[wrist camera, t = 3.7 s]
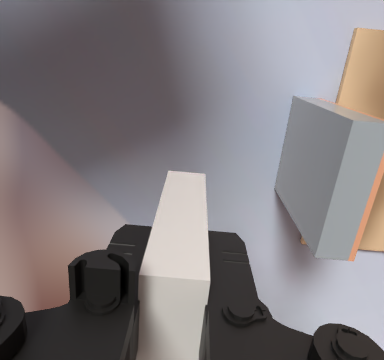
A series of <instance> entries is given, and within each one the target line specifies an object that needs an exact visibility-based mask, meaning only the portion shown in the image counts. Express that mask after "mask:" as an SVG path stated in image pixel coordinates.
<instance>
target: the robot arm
mask: <svg viewBox="0 0 384 360" xmlns="http://www.w3.org/2000/svg"><path fill="white" fill-rule="evenodd" d="M68 272H69V288H70V300H69V302H68V304H65V305H62V306H60V307H56V308H51V309H46V310H40V311H34V312H27V313H25V311H24V308H23V306H22V304H21V302H19V301H18V300H16V299H14V298H12V297H5V296H0V360H384V351H383V350H382V349H381V348H380V347H379V346H378V345H377V344H376V343H375V342H374V341H373V340H372V339H371V338H369V337H368V336H367V335H365V334H363V333H361V332H360V331H358V330H356V329H355V328H352V327H348V326H345V325H342V324H331V323H328V324H325V325H323V326H320V327H319V328H318V329H317V330H316V332H315V333H314V335H313V336H311V335H308V334H306V333H303V332H300V331H297V330H294V329H291V328H289V327H287V326H284V325H282V324H280V323H279V322H277V321H276V320H274V319H273V318H272V315H271V314H270V312H269V310H268V308H267V307H266V306H265V305H264V304H263V303H262V302H261V301H260V300H259V299H258V295H257V291H256V287H255V283H254V279H253V275H252V271H251V267H250V264H249V259H248V255H247V251H246V247H245V243H244V242H243V240H242V239H241V238H240V237H239V236H238V235H237V234H236V233H228V232H217V231H208V221H207V201H206V180H205V174H201V173H190V172H179V171H168V174H167V177H166V181H165V184H164V188H163V191H162V195H161V198H160V202H159V205H158V209H157V212H156V216H155V219H154V223H153V226H152V227H149V226H138V225H127V224H125V225H124V226H123V227H121V228H120V229H119V230H117V231H116V232H115V233H114V235H113V237H112V239H111V241H110V244H109V245H108V248H107V249H106V250H96V251H92V252H87V253H85V254H83V255H81V256H79V257H77V258H75V259H74V260H73V261H72V262H71V263H70V264H69V265H68Z"/></svg>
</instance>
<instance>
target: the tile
mask: <svg viewBox="0 0 384 360" xmlns="http://www.w3.org/2000/svg"><path fill="white" fill-rule="evenodd" d="M383 173H384V119H381V118H378V117H375V116H372V115H369V114H366V113H363V112H360V111H357V110H354V109H351V108H348V107H345V106H342V105H339V104H336V103H333V102H330V101H327V100H324V99H321V98H310V97H300V96H293V100H292V105H291V109H290V114H289V119H288V124H287V129H286V134H285V139H284V144H283V149H282V154H281V158H280V163H279V168H278V173H277V178H276V183H275V188H274V189H275V190H276V192H277V194H278V195H279V197H280V199H281V201H282V202H283V204H284V206H285V207H286V209H287V211H288V213H289V214H290V216H291V218H292V219H293V221H294V223H295V225H296V226H297V228H298V230H299V232H300V233H301V235H302V237H303V238H304V240H305V242H306V244H307V245H308V247H309V249H310V250H311V252H312V254H313V256H314V257H315V258H322V259H333V260H345V261H354V259H355V256H356V253H357V250H358V247H359V244H360V241H361V238H362V235H363V233H364V230H365V227H366V224H367V221H368V218H369V215H370V212H371V209H372V206H373V203H374V200H375V197H376V194H377V191H378V188H379V185H380V182H381V179H382V176H383Z"/></svg>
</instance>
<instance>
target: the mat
mask: <svg viewBox="0 0 384 360" xmlns="http://www.w3.org/2000/svg"><path fill="white" fill-rule="evenodd" d="M336 104H339V105H342V106H345V107H348V108H351V109H354V110H357V111H360V112H363V113H366V114H369V115H372V116H375V117H378V118H381V119H384V30H374V29H364V28H355V29H354V32H353V36H352V40H351V44H350V48H349V52H348V56H347V60H346V64H345V68H344V72H343V76H342V80H341V84H340V87H339V91H338V95H337V99H336ZM300 242H301V244H305V245H307V244H306V242H305V240H304V238H303V237H301V241H300ZM358 249H362V250H373V251H384V173H383V176H382V179H381V182H380V185H379V188H378V191H377V194H376V197H375V200H374V203H373V206H372V209H371V212H370V215H369V218H368V221H367V224H366V227H365V230H364V233H363V235H362V238H361V241H360V244H359V247H358Z"/></svg>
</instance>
